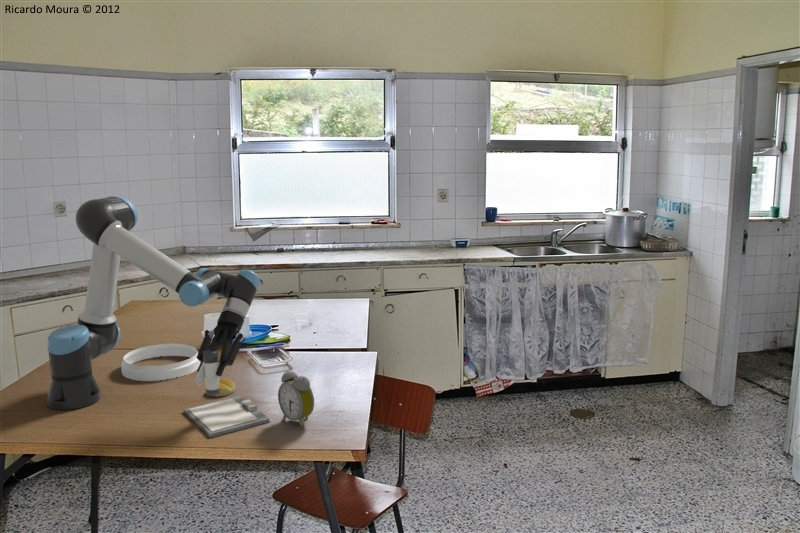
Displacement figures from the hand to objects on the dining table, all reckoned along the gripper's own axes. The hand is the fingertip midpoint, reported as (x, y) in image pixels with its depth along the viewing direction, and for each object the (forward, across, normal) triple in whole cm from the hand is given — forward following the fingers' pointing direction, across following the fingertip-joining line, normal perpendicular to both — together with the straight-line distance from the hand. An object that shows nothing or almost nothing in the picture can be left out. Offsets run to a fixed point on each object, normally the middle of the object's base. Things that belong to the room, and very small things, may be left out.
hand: (204, 384), depth 192 cm
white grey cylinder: (0, 0, -6) cm, 6 cm away
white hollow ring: (-16, +43, -32) cm, 56 cm away
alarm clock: (+2, -26, -15) cm, 30 cm away
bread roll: (-7, +9, -23) cm, 26 cm away
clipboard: (+5, -4, -11) cm, 13 cm away
